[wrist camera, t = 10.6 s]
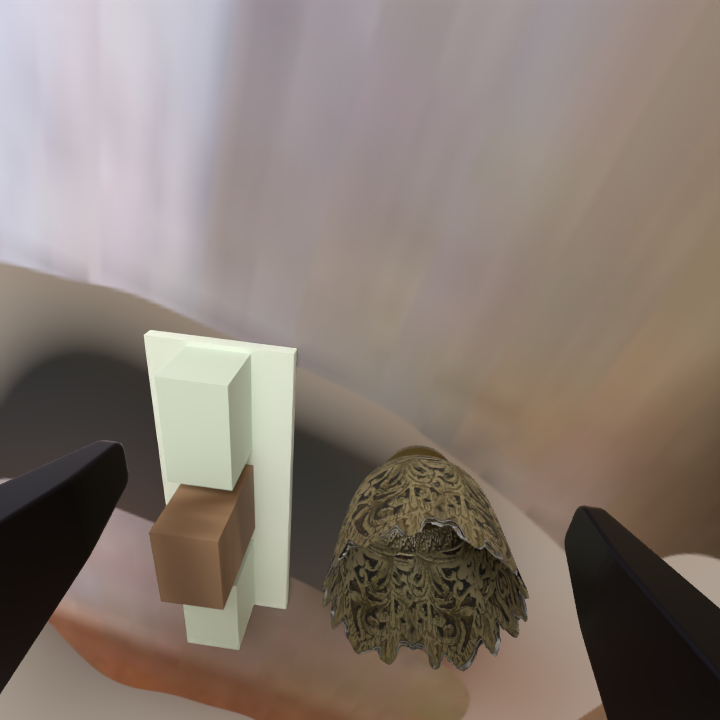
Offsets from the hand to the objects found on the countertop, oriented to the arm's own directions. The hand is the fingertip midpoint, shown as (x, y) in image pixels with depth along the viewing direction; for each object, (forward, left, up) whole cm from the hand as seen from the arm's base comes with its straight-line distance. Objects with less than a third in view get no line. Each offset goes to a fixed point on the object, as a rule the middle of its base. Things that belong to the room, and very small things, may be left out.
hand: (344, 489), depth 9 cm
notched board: (+7, +12, -12) cm, 18 cm away
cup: (-3, +9, -12) cm, 15 cm away
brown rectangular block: (+7, +12, -11) cm, 18 cm away
